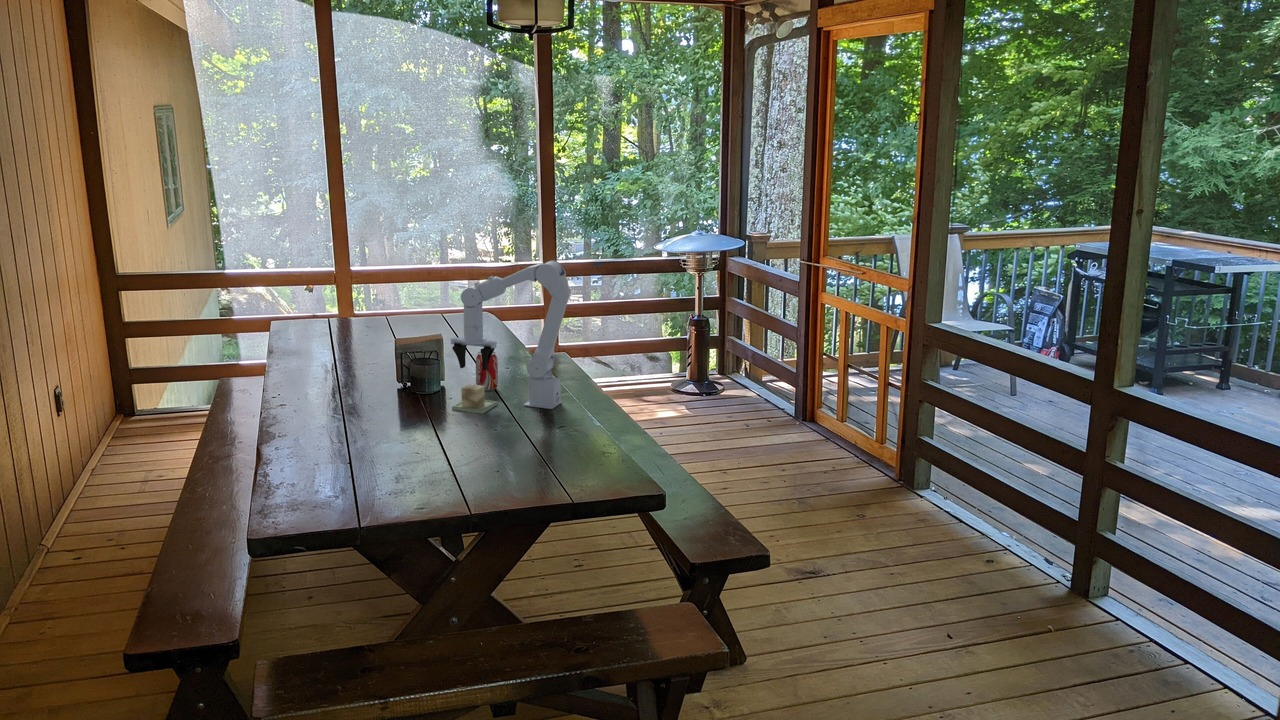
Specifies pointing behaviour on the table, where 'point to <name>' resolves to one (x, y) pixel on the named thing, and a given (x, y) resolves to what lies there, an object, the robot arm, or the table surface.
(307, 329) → the table surface
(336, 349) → the table surface
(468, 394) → the maple block
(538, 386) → the robot arm
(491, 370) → the soda can
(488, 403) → the tray
